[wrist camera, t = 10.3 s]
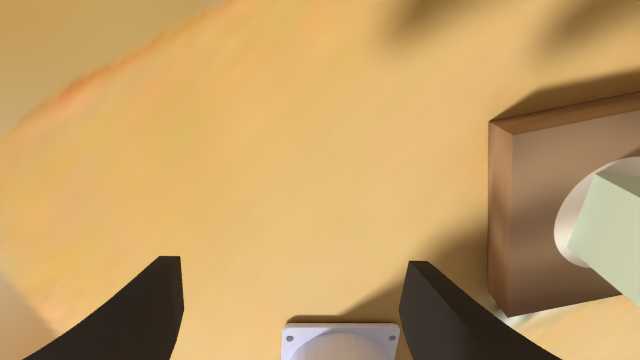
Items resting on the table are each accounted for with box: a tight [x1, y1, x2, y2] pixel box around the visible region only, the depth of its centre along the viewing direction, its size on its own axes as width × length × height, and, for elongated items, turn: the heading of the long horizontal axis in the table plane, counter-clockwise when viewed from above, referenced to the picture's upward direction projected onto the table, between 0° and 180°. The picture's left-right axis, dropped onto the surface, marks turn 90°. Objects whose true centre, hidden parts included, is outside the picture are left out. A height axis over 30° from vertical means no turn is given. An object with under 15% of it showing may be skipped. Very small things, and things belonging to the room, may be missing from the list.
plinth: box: [488, 92, 640, 318], centre depth 22 cm, size 12×12×2 cm
